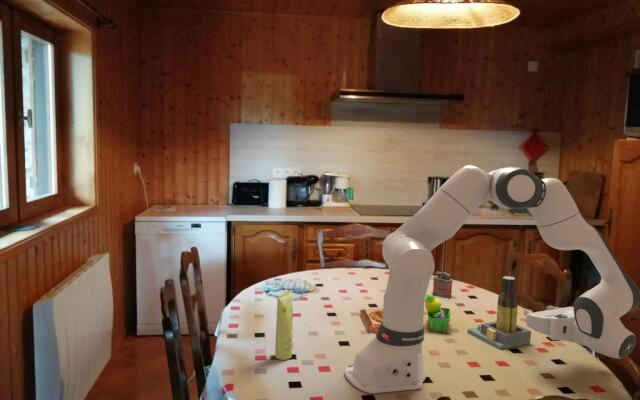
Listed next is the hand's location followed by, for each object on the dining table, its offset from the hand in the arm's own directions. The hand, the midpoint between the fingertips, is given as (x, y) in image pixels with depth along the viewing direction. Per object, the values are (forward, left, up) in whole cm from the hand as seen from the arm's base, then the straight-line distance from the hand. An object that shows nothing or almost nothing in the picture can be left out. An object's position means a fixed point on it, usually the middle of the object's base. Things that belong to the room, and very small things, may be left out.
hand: (536, 310), depth 163 cm
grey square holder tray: (-1, +14, -14) cm, 20 cm away
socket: (0, +12, -13) cm, 18 cm away
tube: (-73, +26, -14) cm, 78 cm away
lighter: (+10, +57, -15) cm, 60 cm away
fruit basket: (-14, +30, -15) cm, 36 cm away
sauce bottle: (0, +12, -13) cm, 18 cm away
